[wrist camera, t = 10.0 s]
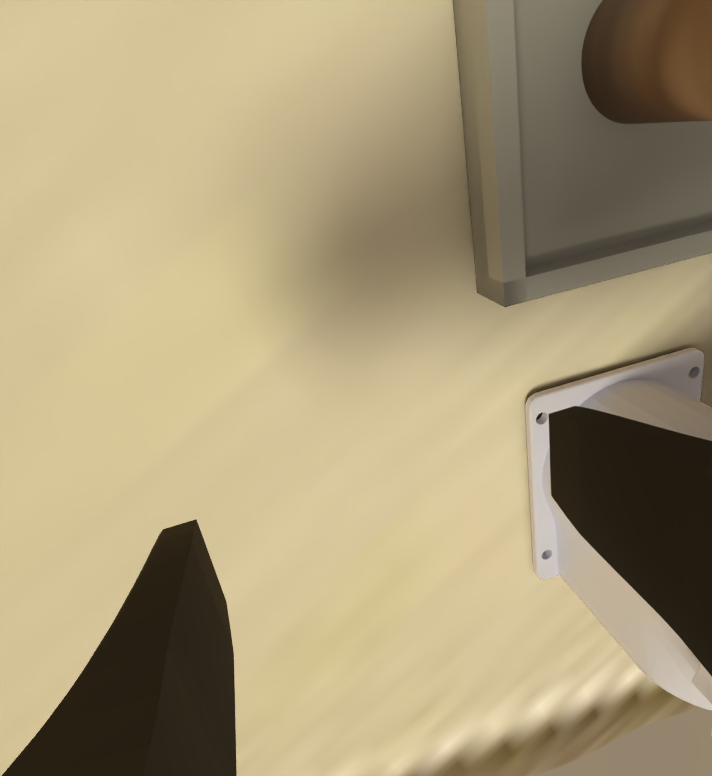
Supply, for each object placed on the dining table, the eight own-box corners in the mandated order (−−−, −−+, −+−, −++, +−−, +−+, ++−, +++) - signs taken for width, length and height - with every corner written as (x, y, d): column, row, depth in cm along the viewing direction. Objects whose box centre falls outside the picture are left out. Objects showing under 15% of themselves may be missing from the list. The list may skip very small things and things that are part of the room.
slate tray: (737, 226, 22) (785, 233, 21) (477, 292, 21) (504, 307, 19) (787, -225, 17) (859, -269, 15) (436, -188, 15) (470, -233, 13)
